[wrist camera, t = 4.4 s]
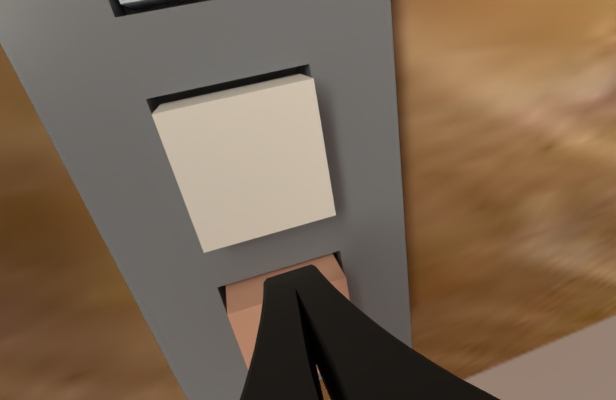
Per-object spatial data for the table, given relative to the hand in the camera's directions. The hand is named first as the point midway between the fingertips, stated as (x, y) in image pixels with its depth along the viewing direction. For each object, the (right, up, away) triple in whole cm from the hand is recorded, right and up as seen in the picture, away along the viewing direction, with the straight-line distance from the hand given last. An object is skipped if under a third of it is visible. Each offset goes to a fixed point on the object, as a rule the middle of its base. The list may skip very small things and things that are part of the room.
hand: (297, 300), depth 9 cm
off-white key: (-2, +4, +4) cm, 6 cm away
